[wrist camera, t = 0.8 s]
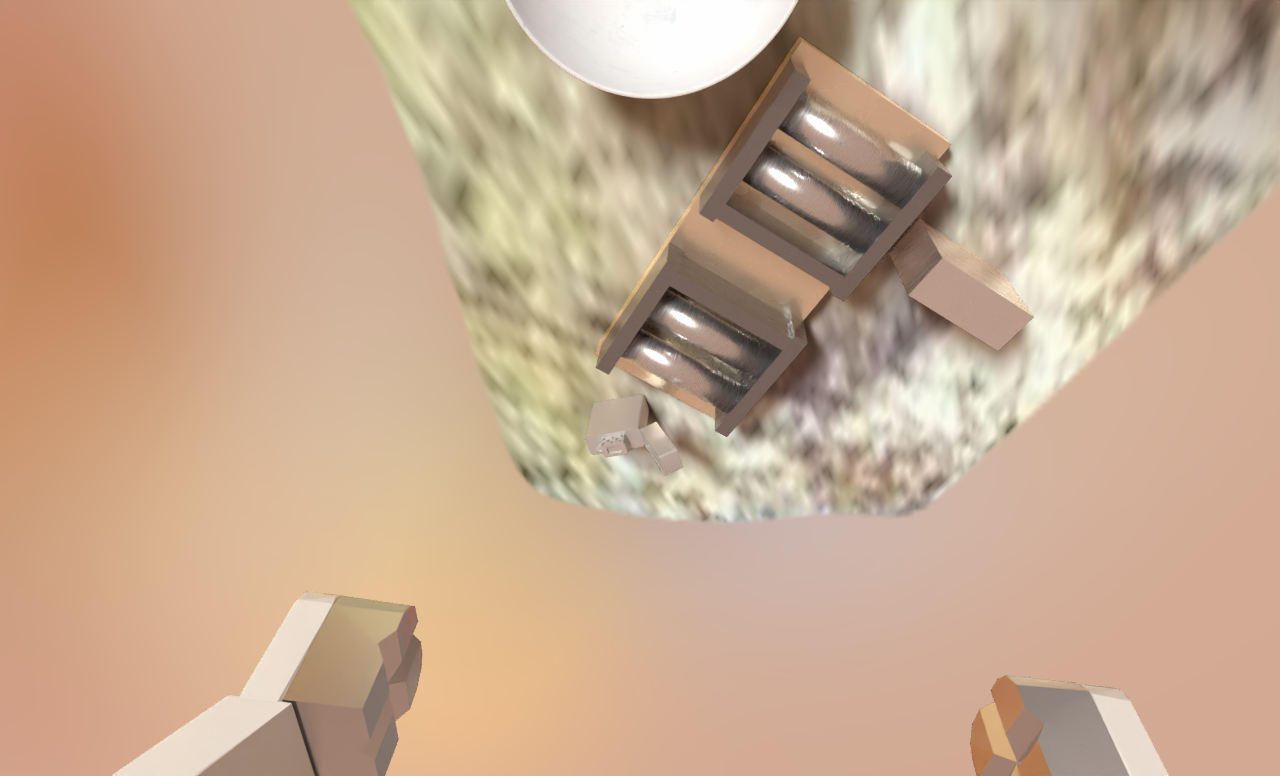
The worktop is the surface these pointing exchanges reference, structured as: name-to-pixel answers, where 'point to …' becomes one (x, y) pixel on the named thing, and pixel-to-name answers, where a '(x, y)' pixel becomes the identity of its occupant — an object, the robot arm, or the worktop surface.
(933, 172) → the metal roller rack
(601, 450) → the lighter
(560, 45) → the chinaware
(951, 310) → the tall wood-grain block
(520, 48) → the worktop surface
